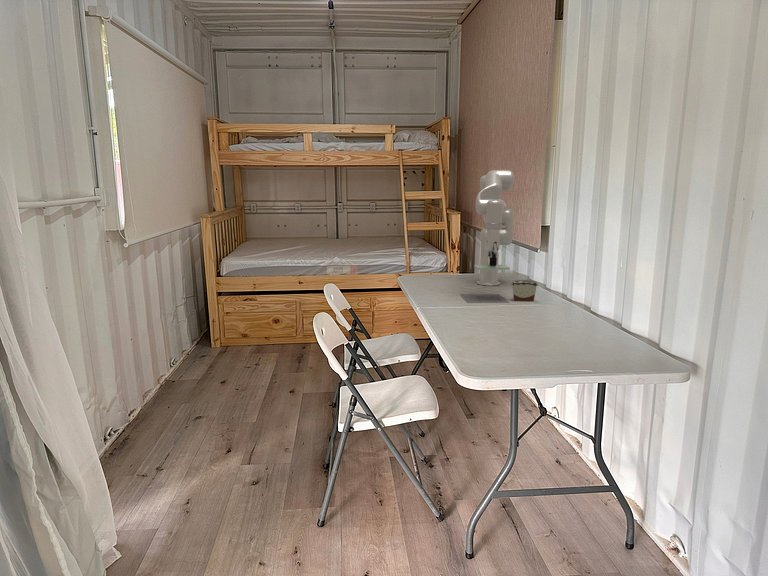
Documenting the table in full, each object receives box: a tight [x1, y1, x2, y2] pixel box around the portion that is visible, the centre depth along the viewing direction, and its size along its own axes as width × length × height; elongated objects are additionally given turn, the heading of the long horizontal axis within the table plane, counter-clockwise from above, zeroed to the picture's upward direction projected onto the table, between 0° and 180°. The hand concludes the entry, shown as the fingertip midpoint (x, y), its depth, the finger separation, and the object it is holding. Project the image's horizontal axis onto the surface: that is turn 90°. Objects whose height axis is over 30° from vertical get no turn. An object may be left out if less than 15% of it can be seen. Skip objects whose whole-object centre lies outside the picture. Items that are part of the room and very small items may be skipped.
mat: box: [459, 293, 511, 304], centre depth 258 cm, size 20×20×1 cm
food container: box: [510, 279, 539, 302], centre depth 254 cm, size 12×6×10 cm, turn 84°
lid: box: [473, 256, 511, 271], centre depth 254 cm, size 9×15×6 cm, turn 91°
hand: (491, 264), depth 254 cm, fingers closed on lid, 4 cm apart
